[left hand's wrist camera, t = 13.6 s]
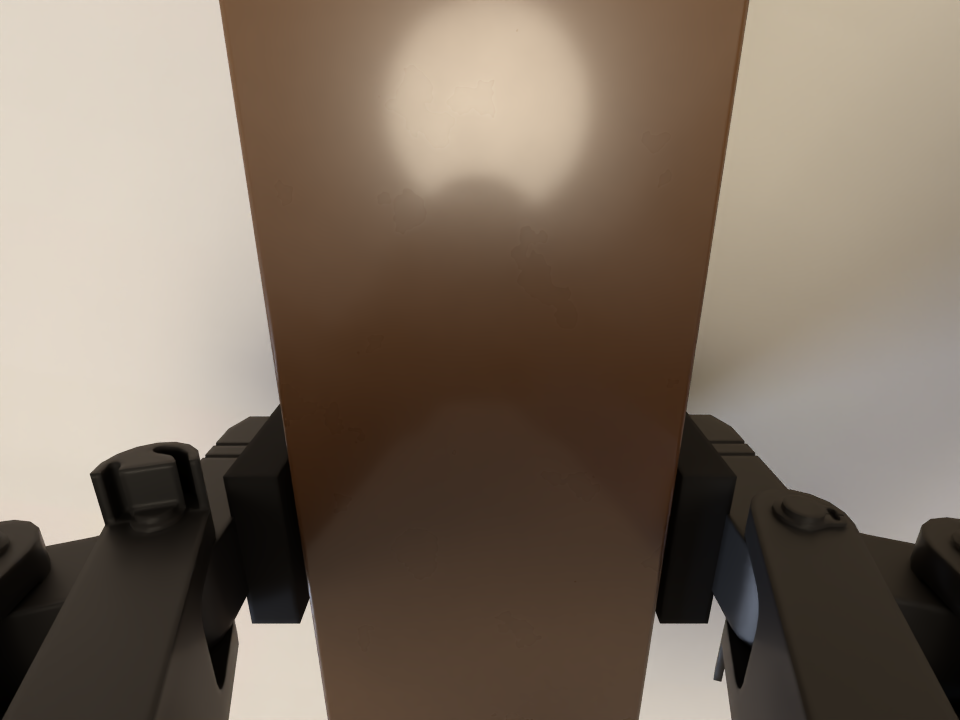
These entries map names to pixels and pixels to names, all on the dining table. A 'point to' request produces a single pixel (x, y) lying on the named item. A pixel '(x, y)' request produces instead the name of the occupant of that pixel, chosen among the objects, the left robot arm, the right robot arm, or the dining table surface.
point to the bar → (483, 328)
